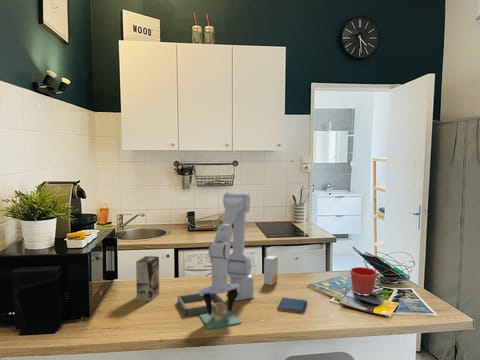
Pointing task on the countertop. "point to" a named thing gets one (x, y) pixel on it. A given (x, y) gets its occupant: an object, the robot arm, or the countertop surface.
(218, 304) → the maple block
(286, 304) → the dark blue flat block
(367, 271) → the flower pot
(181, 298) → the gray rectangular frame
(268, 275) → the skincare box
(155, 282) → the coffee box
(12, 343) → the countertop surface
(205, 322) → the teal board
